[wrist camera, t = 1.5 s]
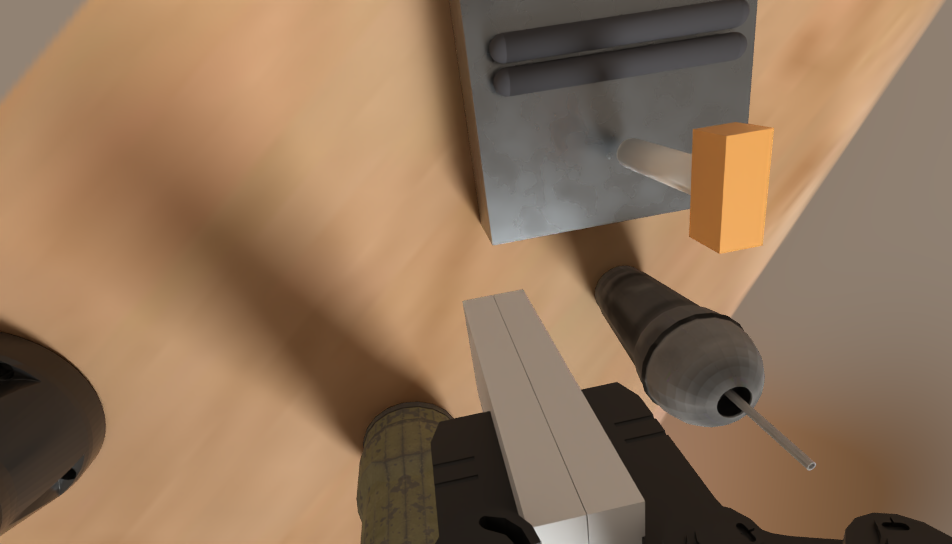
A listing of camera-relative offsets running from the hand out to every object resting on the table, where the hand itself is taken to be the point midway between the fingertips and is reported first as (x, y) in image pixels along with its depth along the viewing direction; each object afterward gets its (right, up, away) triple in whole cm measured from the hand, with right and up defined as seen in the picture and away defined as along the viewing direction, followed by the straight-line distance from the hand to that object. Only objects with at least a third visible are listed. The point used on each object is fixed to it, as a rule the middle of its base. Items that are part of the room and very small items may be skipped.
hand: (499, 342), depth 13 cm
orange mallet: (+9, +9, +18) cm, 23 cm away
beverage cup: (+12, 0, +30) cm, 32 cm away
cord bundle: (+8, +15, +17) cm, 24 cm away
